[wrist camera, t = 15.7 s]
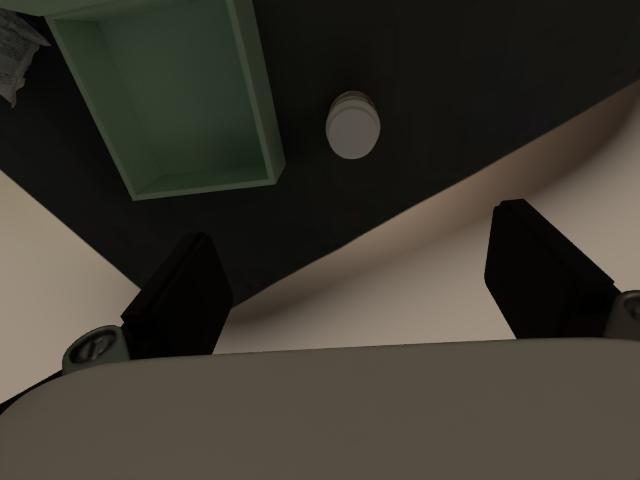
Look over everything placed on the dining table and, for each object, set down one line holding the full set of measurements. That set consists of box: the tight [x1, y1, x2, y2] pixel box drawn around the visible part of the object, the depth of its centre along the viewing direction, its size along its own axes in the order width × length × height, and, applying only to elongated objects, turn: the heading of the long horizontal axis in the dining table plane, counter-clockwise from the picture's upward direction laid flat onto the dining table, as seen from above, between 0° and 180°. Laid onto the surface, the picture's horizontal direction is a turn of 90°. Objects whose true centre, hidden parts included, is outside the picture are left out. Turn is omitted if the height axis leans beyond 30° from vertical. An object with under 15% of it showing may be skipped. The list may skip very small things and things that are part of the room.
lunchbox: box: [44, 0, 286, 201], centre depth 31 cm, size 16×15×6 cm
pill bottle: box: [326, 91, 380, 159], centre depth 30 cm, size 5×5×8 cm
